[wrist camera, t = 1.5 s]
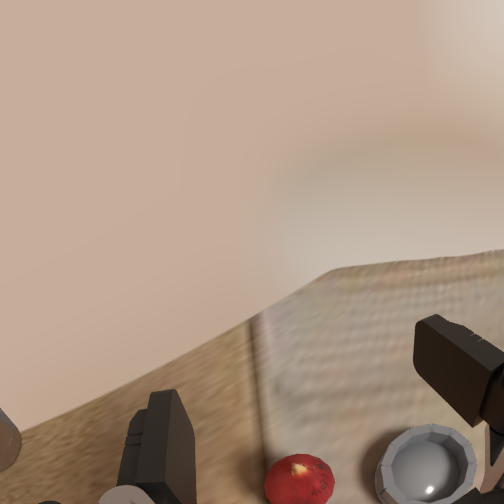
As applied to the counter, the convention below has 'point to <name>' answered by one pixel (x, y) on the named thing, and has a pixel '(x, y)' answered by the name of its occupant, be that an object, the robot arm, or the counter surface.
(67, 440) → the counter surface
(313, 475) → the onion
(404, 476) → the grey round tray
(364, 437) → the counter surface
